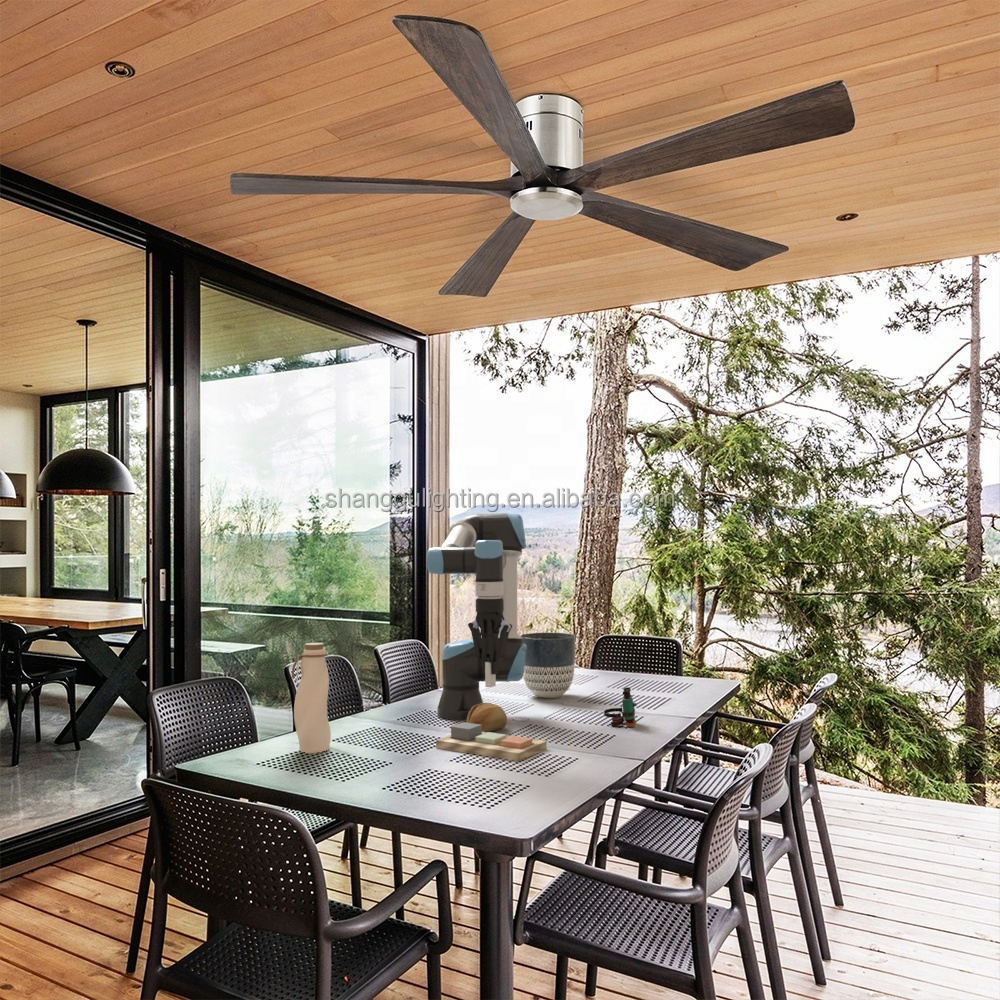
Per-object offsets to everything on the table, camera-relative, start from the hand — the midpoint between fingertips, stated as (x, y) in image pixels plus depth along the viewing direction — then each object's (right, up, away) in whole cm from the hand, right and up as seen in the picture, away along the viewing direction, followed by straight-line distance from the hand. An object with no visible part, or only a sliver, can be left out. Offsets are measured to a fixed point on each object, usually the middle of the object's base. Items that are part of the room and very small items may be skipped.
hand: (490, 686), depth 213 cm
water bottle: (-48, -17, -1) cm, 51 cm away
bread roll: (-1, -18, +18) cm, 25 cm away
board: (0, -16, -1) cm, 16 cm away
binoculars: (+38, -17, +24) cm, 49 cm away
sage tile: (0, -16, -1) cm, 16 cm away
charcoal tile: (-6, -15, +3) cm, 16 cm away
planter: (+20, -20, +67) cm, 73 cm away
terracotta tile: (+7, -16, -5) cm, 18 cm away
